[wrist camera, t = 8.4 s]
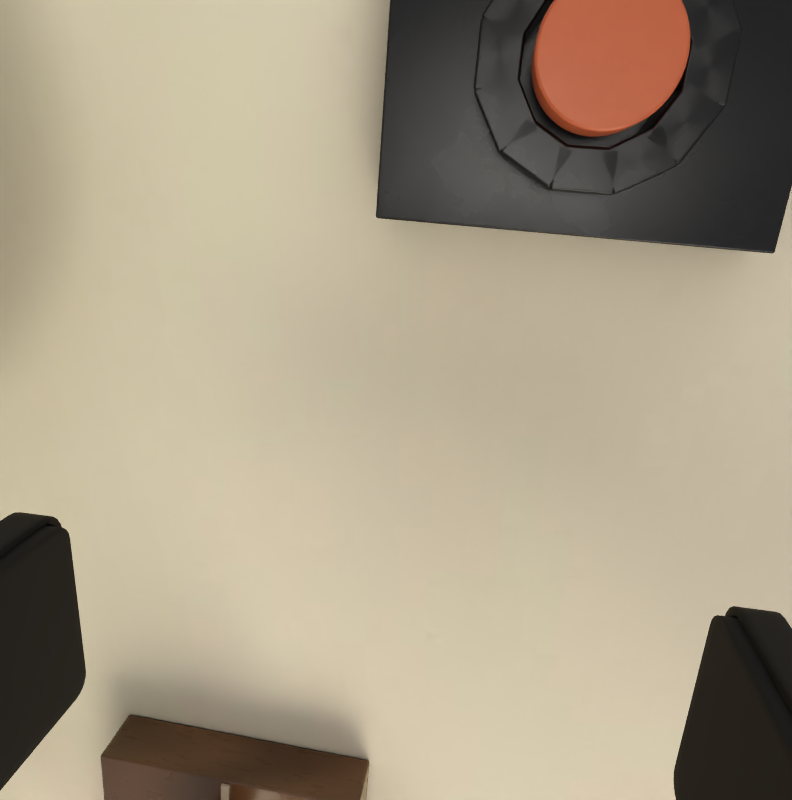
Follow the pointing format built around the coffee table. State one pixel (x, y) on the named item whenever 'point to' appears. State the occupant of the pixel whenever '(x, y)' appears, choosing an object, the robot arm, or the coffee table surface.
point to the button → (608, 61)
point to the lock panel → (221, 767)
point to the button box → (581, 155)
